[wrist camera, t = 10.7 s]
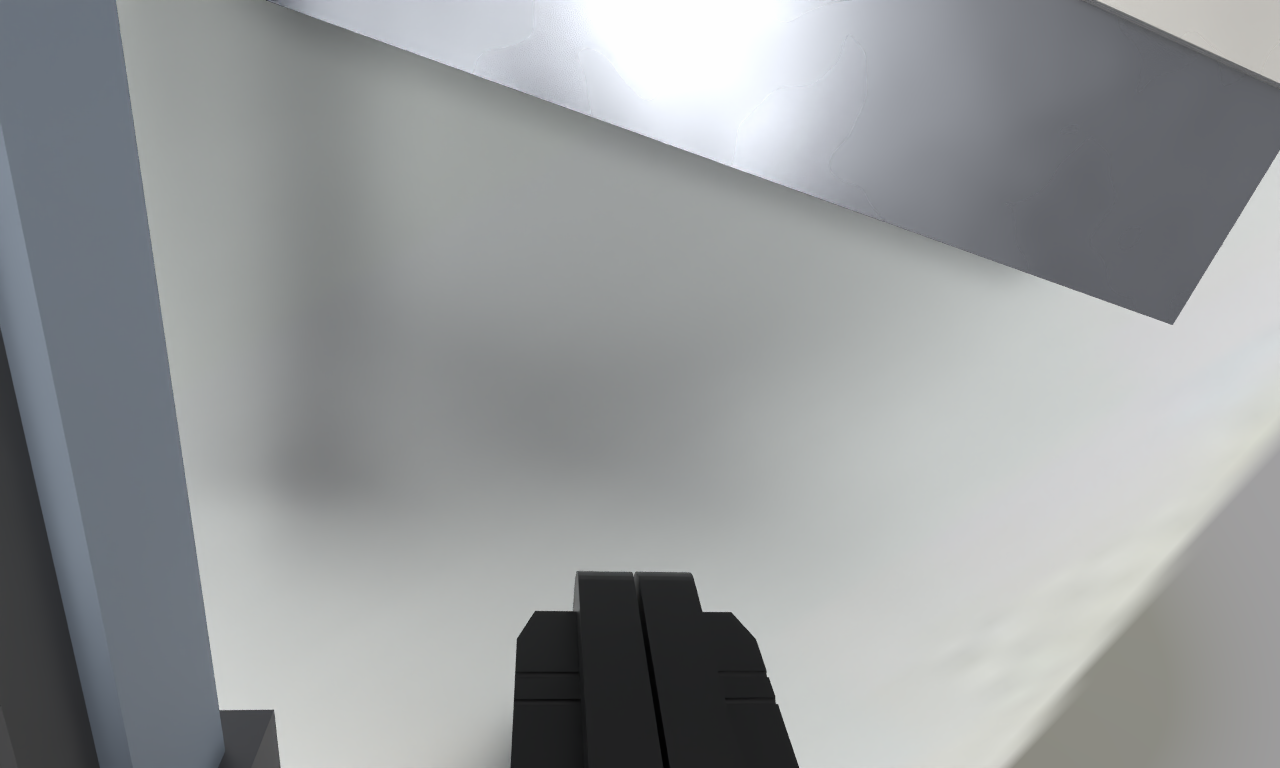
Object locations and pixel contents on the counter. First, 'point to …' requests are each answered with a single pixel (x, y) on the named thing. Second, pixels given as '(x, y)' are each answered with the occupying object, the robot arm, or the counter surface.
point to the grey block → (921, 110)
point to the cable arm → (92, 433)
